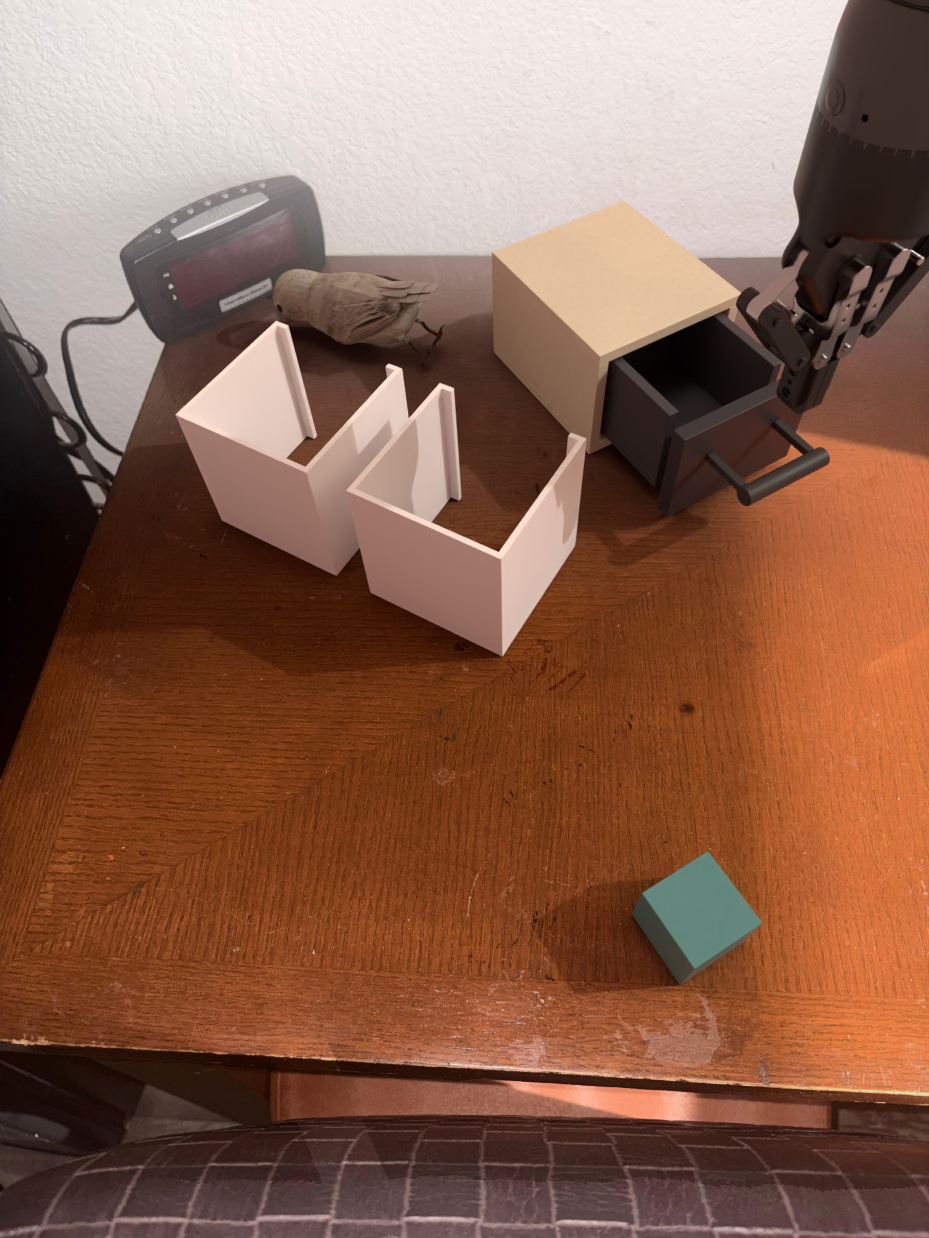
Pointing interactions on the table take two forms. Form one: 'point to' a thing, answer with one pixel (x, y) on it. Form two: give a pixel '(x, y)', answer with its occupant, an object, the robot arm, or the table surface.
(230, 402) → the white desk organizer
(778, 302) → the robot arm
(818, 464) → the drawer
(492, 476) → the table surface
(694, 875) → the block
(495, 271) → the beige hollow box
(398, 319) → the decorative bird
